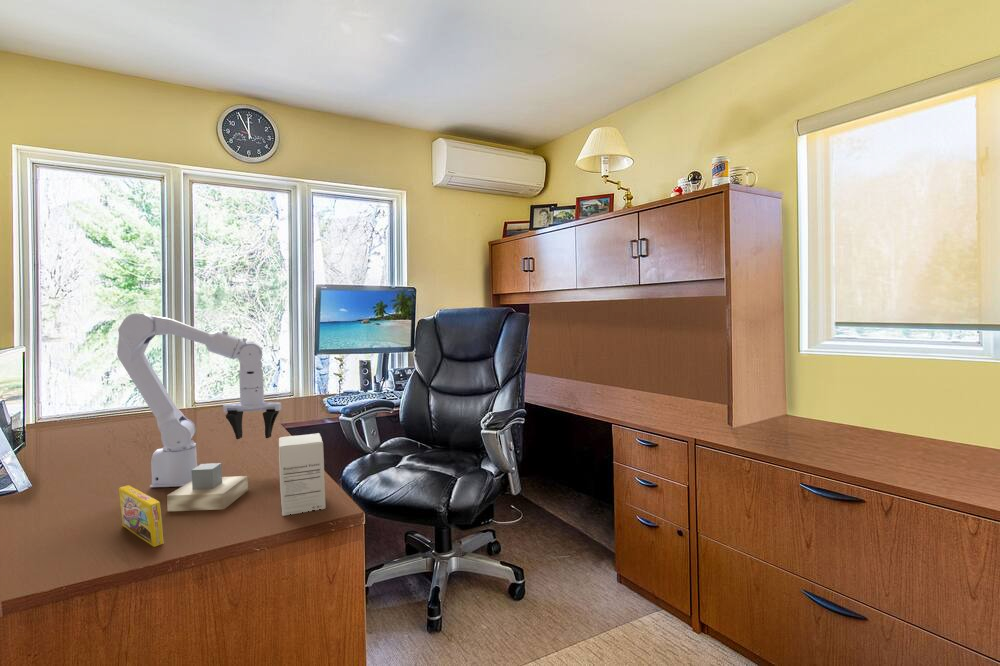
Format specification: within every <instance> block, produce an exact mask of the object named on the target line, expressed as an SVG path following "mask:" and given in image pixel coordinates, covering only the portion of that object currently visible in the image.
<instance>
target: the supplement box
mask: <svg viewBox="0 0 1000 666" xmlns="http://www.w3.org/2000/svg"><path fill="white" fill-rule="evenodd" d="M324 457H325V456H324V442H323V439H322V436H321V433H319V432H317V433H309V434H301V435H300V434H299V435H288V436H287V435H286V436H281V437H279V438H278V467H279V468H278V470H279V490H280V501H281V505H280V506H281V516H283V517H285V516H291V515H296V514H297V515H298V514H302V512H303V513H308V511H309V512H313V511H312V510H315V511H320V510H319V509H321V510H325V509H326V507H327V506H326V486H325V485H326V484H325V483H326V482H325V459H324ZM290 514H291V515H290Z"/></svg>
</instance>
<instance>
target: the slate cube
mask: <svg viewBox="0 0 1000 666" xmlns="http://www.w3.org/2000/svg"><path fill="white" fill-rule="evenodd" d="M222 469H223V468H222V462H216V463H215V462H212V463H200V464H199V465H197V467H195V468H194V469H192V470H191V472H192V490H199V489H214V488H215V487H216V486H218V485H219V484H220V483H222V477H223V470H222Z"/></svg>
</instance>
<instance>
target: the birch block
mask: <svg viewBox="0 0 1000 666" xmlns="http://www.w3.org/2000/svg"><path fill="white" fill-rule="evenodd" d="M248 478H249V477H248V475H238V476H222V483H220V484H219V485H218V486H216V487H215V488H214V489H199V490H192V481H190V482H189V483H187V484H185V485H184V486H179V488H177V489H175V490H173V491H172V492H170V493H168V494H166V501H167V502H166V504H167V512H185V511H186V512H187V511H189V512H191V511H208V510H209V511H210V510H211V511H212V510H214V511H216V510H226V508H227V507H229V506H230V505H231V504H232V503H234V502H235V501H236V500H238V499H240V497H242V496H243V495H244V494H246V492H248V491H249V480H248Z"/></svg>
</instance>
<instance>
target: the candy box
mask: <svg viewBox="0 0 1000 666" xmlns="http://www.w3.org/2000/svg"><path fill="white" fill-rule="evenodd" d="M118 495H119V505H120V513H121V521H122V523H121V524H122V527H124V528H125V529H127V530H128V531H130V532H131V533H132V534H134V535H135V536H137V537H138V538H139V539H142V540H143V541H145V542H146V543H147V544H149V545H150V546H152V547H153V548H155V547H158V546H161V545H164V543H165V541H164V533H163V531H164V530H163V521H162V520H163V519H162V518H163V517H162V509H161V502H160V501H159V500H158V499H155V498H154V497H152V496H150V495H148V494H146V493H144V492H142V491H140V490H139V489H137V488H134V487H133V486H132V485H130V484H128V485H125V486H120V487H119V488H118Z"/></svg>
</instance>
